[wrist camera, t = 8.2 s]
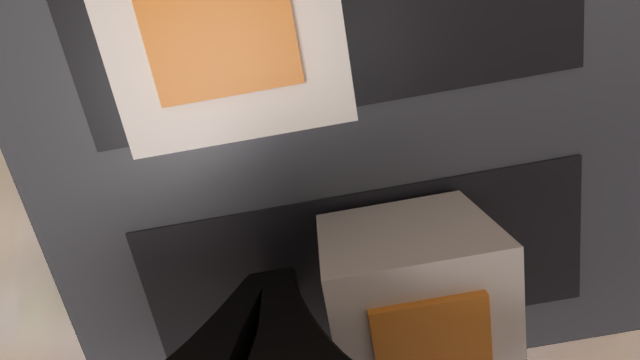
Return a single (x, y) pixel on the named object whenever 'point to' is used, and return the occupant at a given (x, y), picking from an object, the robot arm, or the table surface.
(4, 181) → the table surface
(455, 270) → the white orange block
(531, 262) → the switch plate
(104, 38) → the white orange cube
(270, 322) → the robot arm
